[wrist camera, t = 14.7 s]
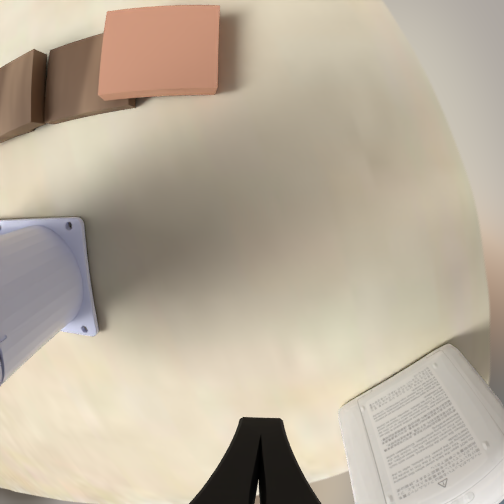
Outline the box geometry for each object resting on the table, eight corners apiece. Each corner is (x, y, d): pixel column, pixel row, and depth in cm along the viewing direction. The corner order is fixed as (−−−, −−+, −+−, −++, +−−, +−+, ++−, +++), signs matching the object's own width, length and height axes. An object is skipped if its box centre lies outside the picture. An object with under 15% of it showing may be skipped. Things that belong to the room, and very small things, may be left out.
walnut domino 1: (45, 124, 16) (-12, 148, 16) (46, 54, 14) (-10, 85, 15) (30, 121, 14) (-26, 148, 14) (33, 49, 13) (-23, 83, 13)
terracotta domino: (214, 94, 16) (104, 100, 14) (216, 17, 14) (112, 22, 13) (217, 88, 14) (97, 95, 13) (219, 5, 13) (106, 11, 12)
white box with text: (350, 437, 21) (380, 571, 9) (326, 407, 20) (353, 562, 8) (463, 368, 19) (544, 478, 7) (451, 331, 19) (552, 449, 7)
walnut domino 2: (138, 108, 16) (57, 124, 17) (141, 34, 15) (62, 56, 15) (128, 104, 15) (44, 122, 15) (133, 25, 14) (50, 50, 14)
